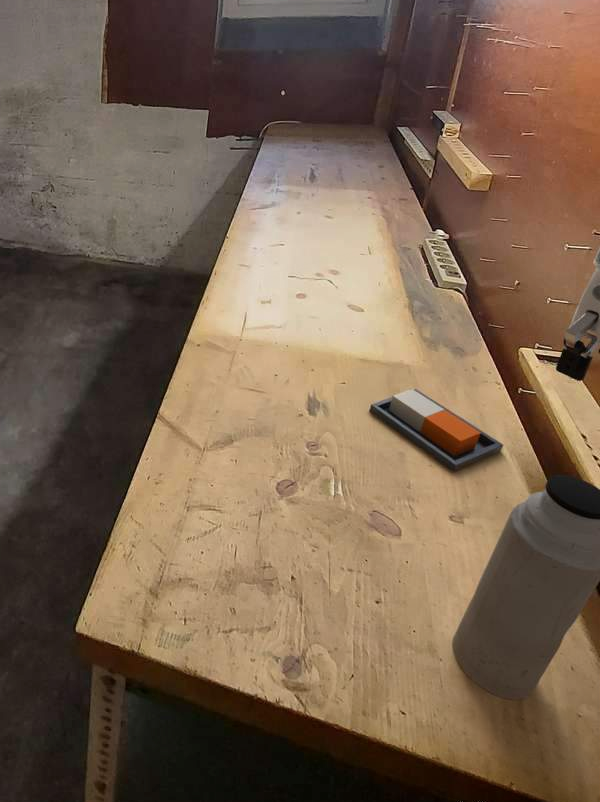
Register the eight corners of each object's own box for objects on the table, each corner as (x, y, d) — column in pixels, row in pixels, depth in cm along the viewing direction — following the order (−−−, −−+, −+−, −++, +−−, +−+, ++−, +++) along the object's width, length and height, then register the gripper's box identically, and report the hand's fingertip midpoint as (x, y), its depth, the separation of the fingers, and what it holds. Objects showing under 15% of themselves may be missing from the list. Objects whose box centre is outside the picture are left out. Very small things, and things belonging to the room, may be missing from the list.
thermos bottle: (530, 649, 68) (626, 480, 55) (538, 715, 62) (648, 541, 49) (451, 616, 71) (525, 451, 59) (452, 675, 65) (534, 504, 53)
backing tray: (412, 396, 110) (415, 388, 109) (500, 453, 96) (503, 444, 95) (368, 412, 106) (370, 404, 105) (452, 474, 92) (456, 465, 91)
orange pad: (439, 424, 102) (444, 409, 100) (474, 448, 97) (481, 432, 95) (419, 432, 100) (424, 417, 99) (454, 456, 95) (460, 441, 93)
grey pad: (407, 403, 107) (412, 388, 106) (439, 424, 102) (444, 409, 100) (388, 410, 106) (392, 395, 104) (419, 432, 100) (424, 417, 99)
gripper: (630, 284, 68) (582, 397, 75) (710, 256, 73) (659, 364, 81) (560, 262, 74) (522, 368, 82) (639, 237, 80) (597, 339, 87)
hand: (590, 366), depth 81 cm, fingers open, 9 cm apart
